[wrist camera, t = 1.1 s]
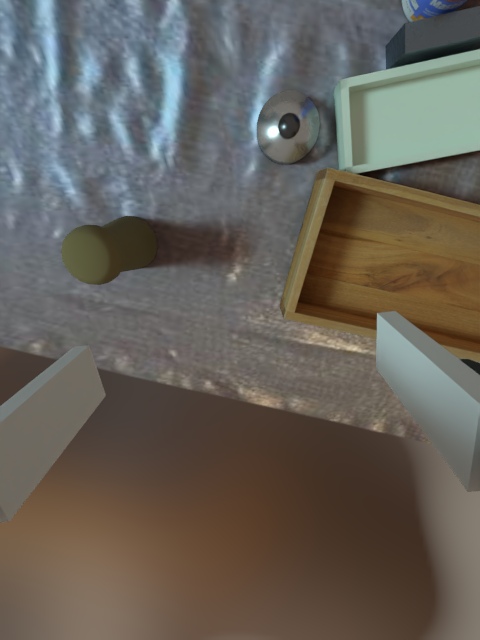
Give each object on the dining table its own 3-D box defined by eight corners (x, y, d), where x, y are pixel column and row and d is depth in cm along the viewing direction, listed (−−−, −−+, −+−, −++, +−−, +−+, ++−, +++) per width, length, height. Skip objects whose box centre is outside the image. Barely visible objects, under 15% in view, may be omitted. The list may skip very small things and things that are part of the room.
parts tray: (333, 89, 31) (340, 79, 28) (531, 46, 29) (555, 32, 27) (339, 177, 33) (345, 175, 31) (520, 142, 32) (542, 138, 29)
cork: (151, 212, 35) (109, 216, 25) (162, 266, 38) (127, 289, 27) (100, 219, 36) (38, 225, 26) (113, 271, 38) (61, 296, 28)
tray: (582, 237, 35) (641, 243, 30) (511, 356, 40) (551, 380, 35) (315, 171, 34) (327, 165, 28) (278, 303, 39) (282, 318, 34)
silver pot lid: (252, 104, 32) (252, 94, 29) (312, 91, 31) (318, 80, 28) (261, 169, 34) (262, 166, 31) (318, 158, 33) (324, 154, 30)
